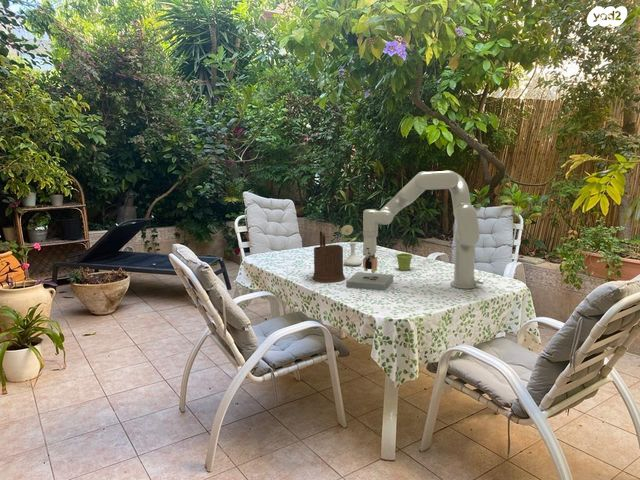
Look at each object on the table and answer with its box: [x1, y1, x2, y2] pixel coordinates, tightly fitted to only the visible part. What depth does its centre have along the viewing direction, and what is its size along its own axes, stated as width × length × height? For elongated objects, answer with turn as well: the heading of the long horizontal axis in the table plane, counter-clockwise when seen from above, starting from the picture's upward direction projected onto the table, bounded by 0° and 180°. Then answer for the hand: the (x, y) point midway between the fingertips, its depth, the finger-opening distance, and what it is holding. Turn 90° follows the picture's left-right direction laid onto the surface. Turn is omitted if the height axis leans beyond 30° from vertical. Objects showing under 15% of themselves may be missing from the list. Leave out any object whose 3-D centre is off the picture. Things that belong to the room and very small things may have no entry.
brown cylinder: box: [312, 230, 346, 284], centre depth 245 cm, size 18×24×25 cm
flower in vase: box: [340, 224, 363, 267], centre depth 273 cm, size 13×11×25 cm
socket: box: [345, 271, 394, 291], centre depth 233 cm, size 20×20×3 cm
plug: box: [362, 256, 378, 273], centre depth 231 cm, size 6×6×7 cm
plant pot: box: [396, 253, 413, 272], centre depth 260 cm, size 9×9×9 cm
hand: (370, 267), depth 232 cm, fingers closed on plug, 6 cm apart
